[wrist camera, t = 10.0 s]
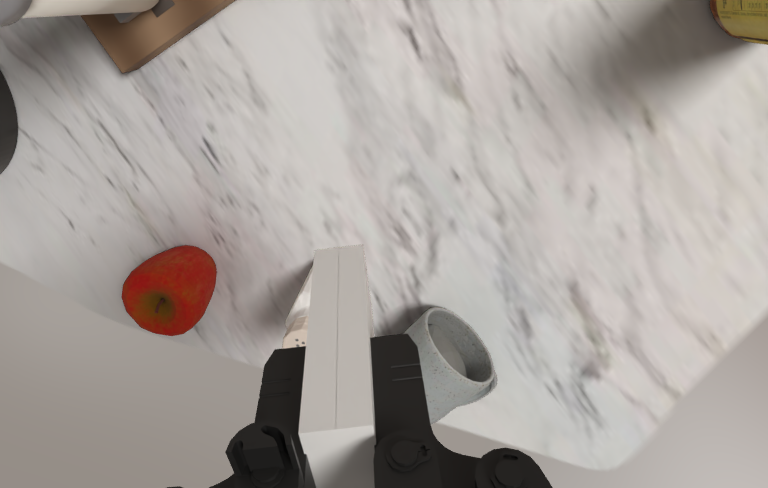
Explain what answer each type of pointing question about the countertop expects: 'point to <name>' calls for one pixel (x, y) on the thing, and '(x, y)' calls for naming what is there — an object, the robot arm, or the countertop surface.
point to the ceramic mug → (451, 362)
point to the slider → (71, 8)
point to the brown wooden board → (150, 29)
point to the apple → (170, 290)
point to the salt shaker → (299, 317)
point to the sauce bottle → (743, 18)
